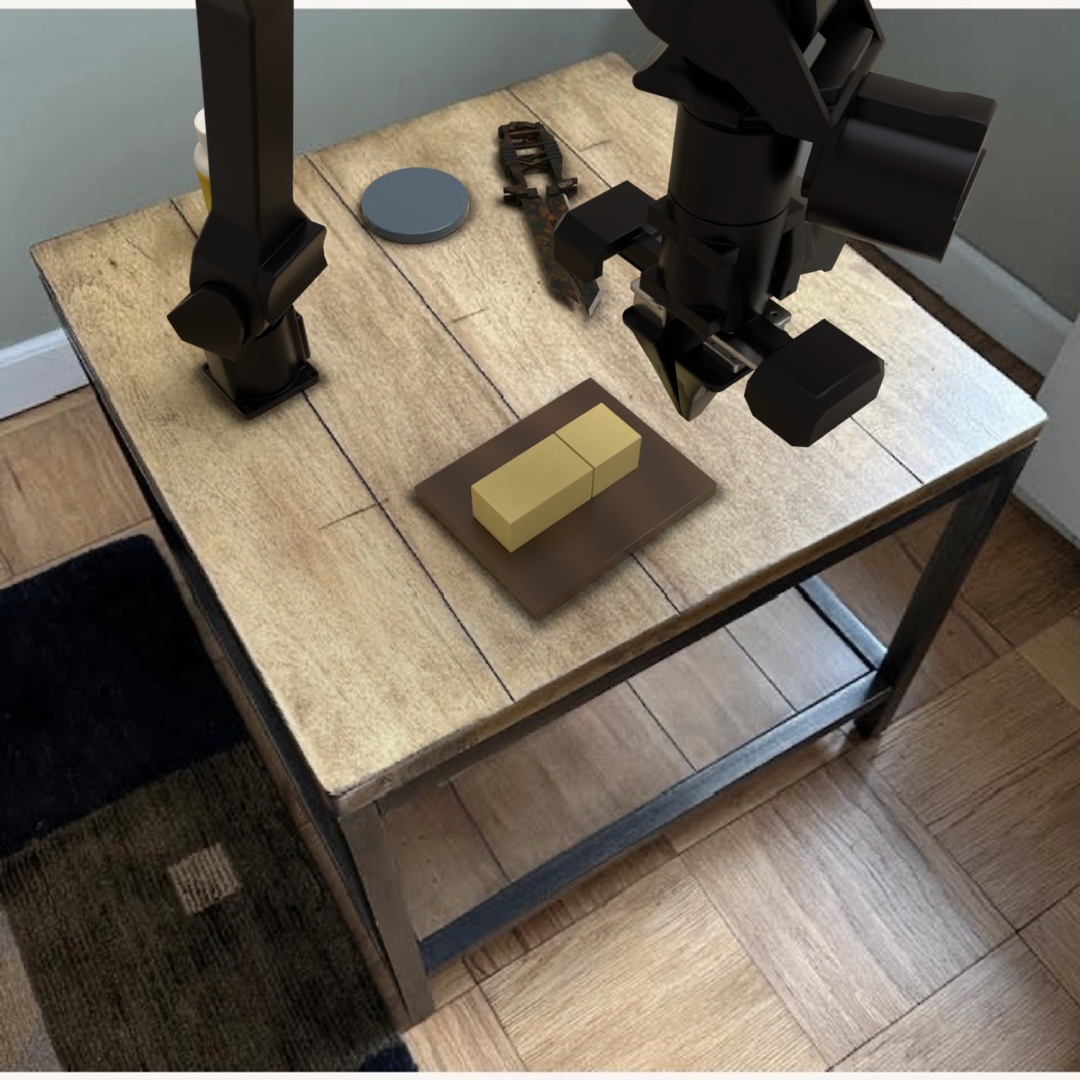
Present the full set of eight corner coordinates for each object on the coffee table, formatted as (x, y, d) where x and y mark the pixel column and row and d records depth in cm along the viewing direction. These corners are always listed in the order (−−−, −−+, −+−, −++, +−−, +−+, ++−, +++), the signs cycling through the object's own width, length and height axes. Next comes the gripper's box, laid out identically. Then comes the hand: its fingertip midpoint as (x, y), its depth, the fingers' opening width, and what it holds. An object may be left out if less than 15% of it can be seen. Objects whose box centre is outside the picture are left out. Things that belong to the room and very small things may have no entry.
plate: (404, 258, 89) (403, 248, 89) (341, 204, 93) (340, 194, 93) (490, 213, 93) (490, 203, 92) (426, 163, 97) (425, 153, 96)
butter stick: (510, 553, 71) (510, 524, 68) (472, 515, 73) (470, 485, 70) (591, 498, 74) (593, 468, 71) (552, 463, 75) (553, 432, 73)
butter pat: (592, 498, 74) (594, 467, 71) (553, 462, 75) (554, 432, 73) (638, 467, 75) (641, 436, 73) (599, 433, 77) (601, 402, 74)
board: (537, 621, 69) (537, 611, 68) (415, 497, 75) (413, 486, 74) (715, 494, 75) (717, 483, 74) (589, 388, 81) (590, 376, 80)
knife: (608, 320, 85) (609, 307, 84) (526, 327, 85) (526, 314, 84) (561, 129, 100) (562, 116, 99) (491, 134, 99) (491, 120, 98)
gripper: (1001, 215, 50) (905, 441, 62) (708, 42, 58) (676, 272, 71) (840, 324, 46) (772, 543, 58) (548, 120, 54) (545, 351, 66)
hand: (689, 414), depth 63 cm, fingers closed
